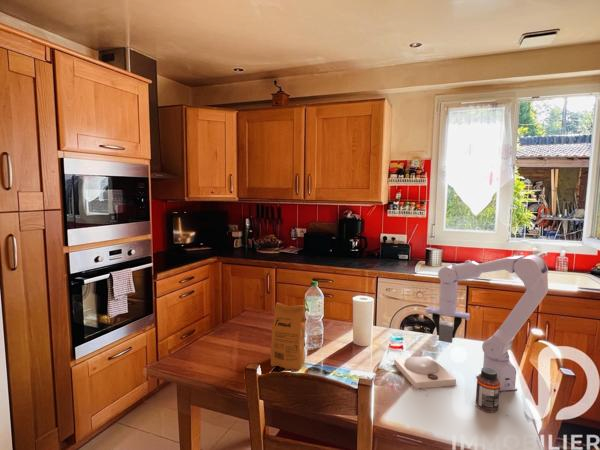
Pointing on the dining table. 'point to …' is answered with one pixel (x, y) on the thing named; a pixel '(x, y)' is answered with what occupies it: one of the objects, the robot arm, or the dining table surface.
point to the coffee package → (288, 337)
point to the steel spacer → (445, 331)
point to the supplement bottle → (488, 390)
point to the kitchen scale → (424, 372)
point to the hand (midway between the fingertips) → (445, 335)
